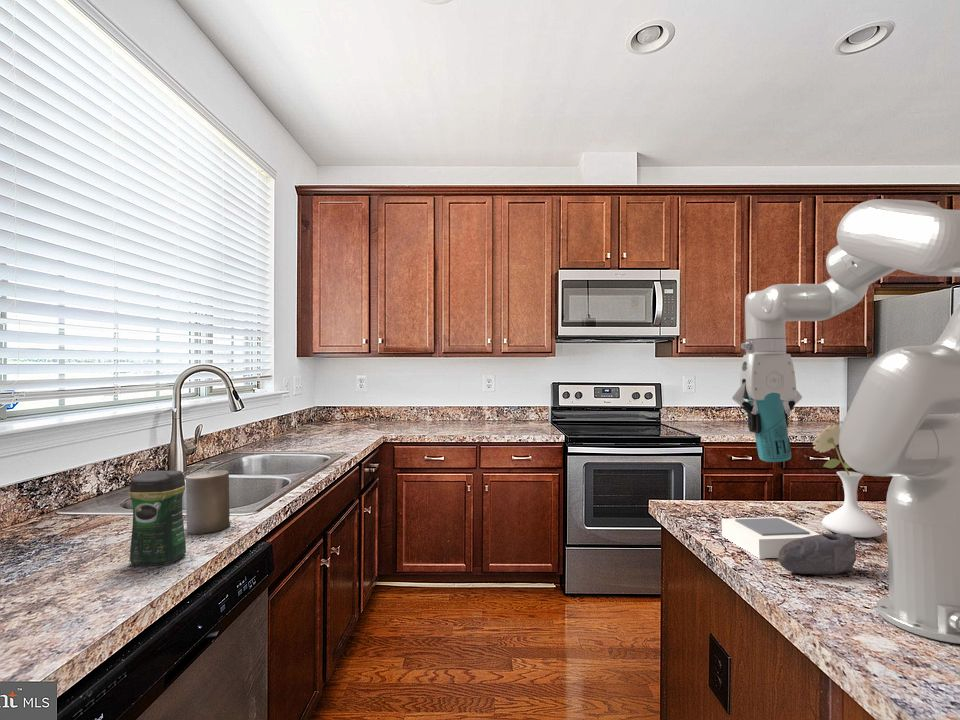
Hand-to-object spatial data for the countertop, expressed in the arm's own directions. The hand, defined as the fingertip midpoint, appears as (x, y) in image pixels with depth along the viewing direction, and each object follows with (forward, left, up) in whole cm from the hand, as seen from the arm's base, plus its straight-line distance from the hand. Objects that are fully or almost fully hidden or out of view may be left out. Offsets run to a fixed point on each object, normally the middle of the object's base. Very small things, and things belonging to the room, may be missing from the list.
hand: (768, 431), depth 108 cm
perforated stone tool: (-14, 0, -25) cm, 29 cm away
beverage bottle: (+1, -2, -8) cm, 8 cm away
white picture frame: (0, 0, -25) cm, 25 cm away
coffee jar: (+4, +130, -25) cm, 132 cm away
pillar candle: (+25, +130, -25) cm, 135 cm away
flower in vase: (+6, -22, -25) cm, 34 cm away
